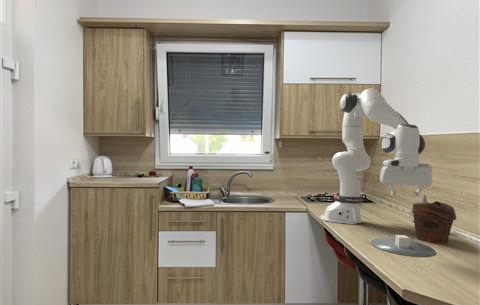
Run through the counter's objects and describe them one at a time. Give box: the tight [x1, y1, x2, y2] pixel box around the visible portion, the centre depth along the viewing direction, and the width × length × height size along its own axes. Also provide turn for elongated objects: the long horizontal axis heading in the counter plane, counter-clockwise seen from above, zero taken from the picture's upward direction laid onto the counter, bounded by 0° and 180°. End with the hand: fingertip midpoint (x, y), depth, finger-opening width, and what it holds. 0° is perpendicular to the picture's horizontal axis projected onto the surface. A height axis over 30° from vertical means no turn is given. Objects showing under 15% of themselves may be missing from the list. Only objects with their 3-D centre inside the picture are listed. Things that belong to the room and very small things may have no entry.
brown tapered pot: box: [411, 201, 457, 244], centre depth 155 cm, size 18×20×18 cm
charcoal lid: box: [370, 234, 436, 258], centre depth 139 cm, size 24×24×5 cm
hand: (404, 195), depth 139 cm, fingers open, 8 cm apart
